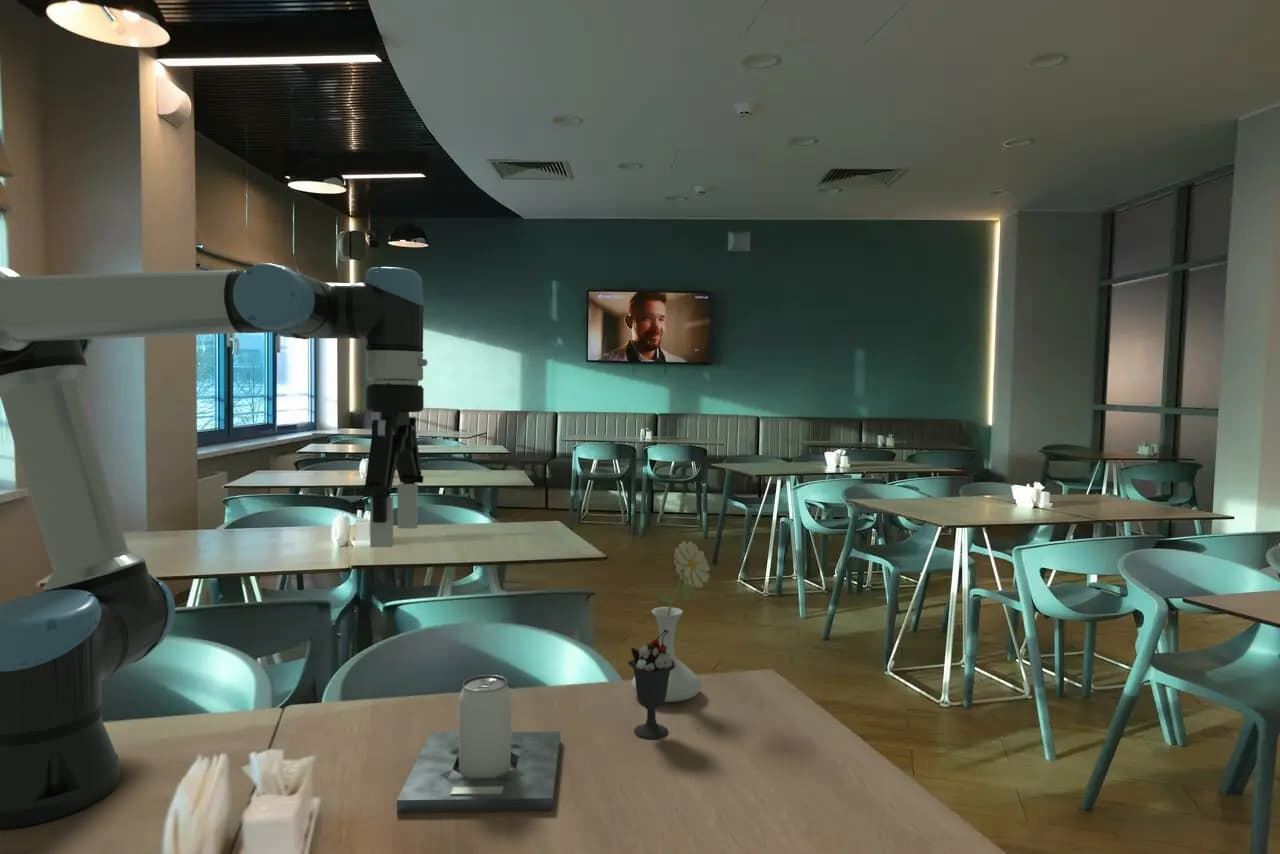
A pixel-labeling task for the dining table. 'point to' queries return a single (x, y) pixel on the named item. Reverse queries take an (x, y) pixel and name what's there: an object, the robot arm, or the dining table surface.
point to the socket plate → (513, 791)
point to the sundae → (651, 684)
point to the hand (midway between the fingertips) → (395, 537)
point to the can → (485, 727)
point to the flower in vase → (693, 573)
